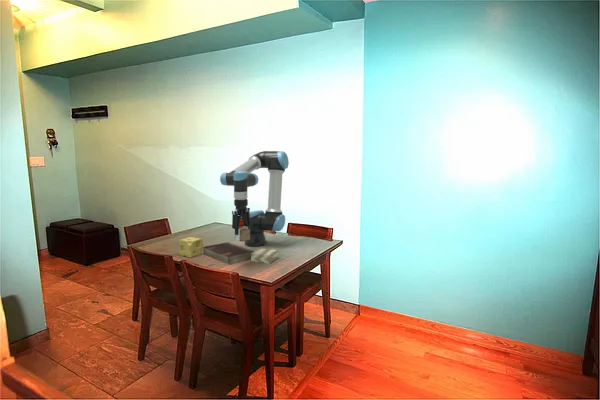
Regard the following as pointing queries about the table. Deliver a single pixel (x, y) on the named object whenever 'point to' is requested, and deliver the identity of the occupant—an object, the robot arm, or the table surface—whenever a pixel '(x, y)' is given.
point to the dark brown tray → (228, 252)
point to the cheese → (190, 246)
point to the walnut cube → (244, 234)
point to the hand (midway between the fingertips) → (241, 238)
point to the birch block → (264, 255)
